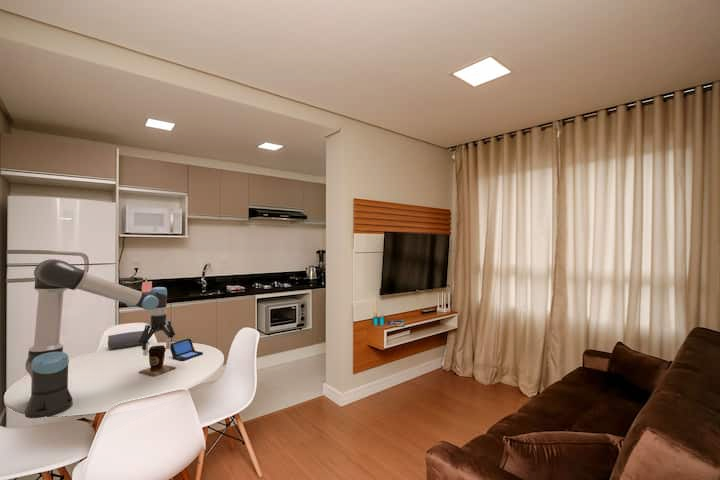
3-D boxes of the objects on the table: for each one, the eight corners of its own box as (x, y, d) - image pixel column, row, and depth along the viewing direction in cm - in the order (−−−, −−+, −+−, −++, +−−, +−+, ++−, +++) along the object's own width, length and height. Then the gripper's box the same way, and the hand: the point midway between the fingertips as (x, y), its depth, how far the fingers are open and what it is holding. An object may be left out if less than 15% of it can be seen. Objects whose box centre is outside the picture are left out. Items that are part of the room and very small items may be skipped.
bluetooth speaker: (146, 342, 243) (146, 328, 243) (148, 345, 236) (148, 331, 236) (107, 348, 228) (108, 333, 228) (108, 351, 221) (108, 336, 221)
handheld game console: (182, 362, 204) (182, 346, 204) (168, 358, 210) (168, 344, 210) (203, 354, 218) (204, 340, 218) (189, 351, 224) (190, 337, 224)
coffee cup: (156, 373, 183) (157, 349, 183) (143, 372, 185) (144, 348, 185) (168, 367, 192) (169, 345, 192) (156, 366, 193) (156, 344, 194)
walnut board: (154, 376, 180) (154, 375, 180) (138, 372, 185) (138, 371, 185) (175, 368, 192) (175, 367, 192) (160, 365, 197) (160, 363, 197)
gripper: (141, 319, 176) (139, 359, 176) (182, 311, 199) (181, 347, 199) (131, 317, 179) (130, 357, 179) (173, 310, 202) (172, 345, 202)
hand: (157, 352), depth 189 cm, fingers open, 13 cm apart
